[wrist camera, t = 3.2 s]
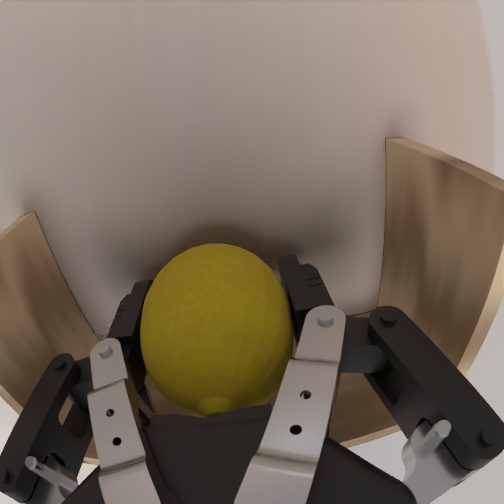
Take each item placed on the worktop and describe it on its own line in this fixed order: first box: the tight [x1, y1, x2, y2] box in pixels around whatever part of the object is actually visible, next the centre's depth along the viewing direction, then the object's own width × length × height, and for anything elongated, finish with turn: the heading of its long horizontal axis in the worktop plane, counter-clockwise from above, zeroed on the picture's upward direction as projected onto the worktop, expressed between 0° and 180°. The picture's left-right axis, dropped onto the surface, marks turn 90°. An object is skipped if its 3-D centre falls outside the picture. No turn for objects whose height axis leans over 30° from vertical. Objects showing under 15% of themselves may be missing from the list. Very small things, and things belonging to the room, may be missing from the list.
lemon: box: [140, 243, 294, 418], centre depth 11 cm, size 6×6×8 cm
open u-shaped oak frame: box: [0, 138, 504, 465], centre depth 11 cm, size 11×19×8 cm, turn 99°
